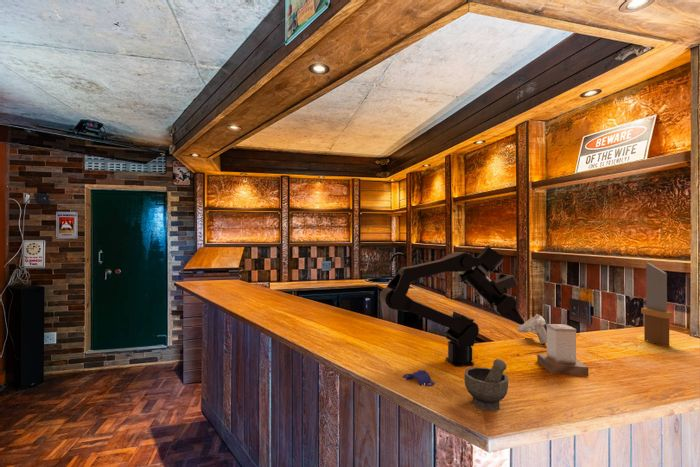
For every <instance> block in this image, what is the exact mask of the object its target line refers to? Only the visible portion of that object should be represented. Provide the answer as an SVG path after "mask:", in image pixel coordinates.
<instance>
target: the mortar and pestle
mask: <svg viewBox="0 0 700 467" xmlns="http://www.w3.org/2000/svg"><path fill="white" fill-rule="evenodd" d="M492 364H493V365H492V366H491V368H488V367H478V366H475V367H473V366H472V367H470V368H467V369H465V370H464V377H463V378H464V379H463V380H464V385H465V388H466V390H467V392H468V394H470V395H471V396H472V399H471V400H472V401H471V402H472V403H471V404H472V405H473V406H474V407H475V408H477V409H480V410H483V411H484V412H485V411H488V412H489V411H490V412H495V411H497V410H500V408H501V407H500V406H501V405H500V404H501V403H500V402H501V401H502V400H503V399H505V397H506V396H507V394H508V390H509V376H508V375H507V374H505V373H504V371H506V370H507V363H506V362H505V361H504V360H502V359H500V358H495V359H494V361H493V363H492Z"/></svg>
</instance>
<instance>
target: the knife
mask: <svg viewBox="0 0 700 467" xmlns="http://www.w3.org/2000/svg"><path fill="white" fill-rule="evenodd" d="M645 266H646V268H645V271H646V272H645V273H646V274H645V275H646V276H645V278H646V280H645V282H646V284H645V285H646V288H645V289H646V298H645V299H646V300H645V302H646V307H641V309H640V312H641V315H643V317H644V324H643V325H644V329H643V330H644V332H643V333H644V336H643V338H644V340H643V341H645V340H648V341H651V342H654V343H653V344H655V343H657V344H656V345H658V344H660V345H659V346H662V345H669V346H670V319H673V318H674V317H673V314H674V313H673V312H671V311H668V273H667V272H666V271H664V270H662V269H660V268H659V267H657V266H655V265H653V264H652V263H650V262H645ZM648 341H647V342H648ZM651 342H650V343H651Z"/></svg>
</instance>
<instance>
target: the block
mask: <svg viewBox="0 0 700 467" xmlns="http://www.w3.org/2000/svg"><path fill="white" fill-rule="evenodd" d="M536 358H537V359H536V360H537V361H536V362H537V363H538V364H539V365H541V366H542V367H543V368H544V370H546V371H548V373H550V374H553V375H554V374H555V375H568V374H570V375H571V376H573V375H574V376H585V375H588V376H589V367H588V365H586V364H585V363H583V362H581V361H580V360H579V359H577V358H576V363H556V362H554V361H553V360H551V359H550V358H549V357H547V353H537V357H536Z"/></svg>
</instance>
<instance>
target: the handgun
mask: <svg viewBox="0 0 700 467" xmlns="http://www.w3.org/2000/svg"><path fill="white" fill-rule="evenodd" d="M524 322H525V323H524V324H523V325H521V324H518V328H517V333H530V332H531V333H532V334H533V335H537V337H538V339H539V344H541V345H542V344H543V345H544V344H547V329H546V328H545V325H546V324H547V322H546V320H545V318H543V316H542V315H540V314H537V313H536V314H535V316H532V317H531V318H529V319H528V320H526V321H524ZM535 332H536V333H535Z"/></svg>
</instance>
